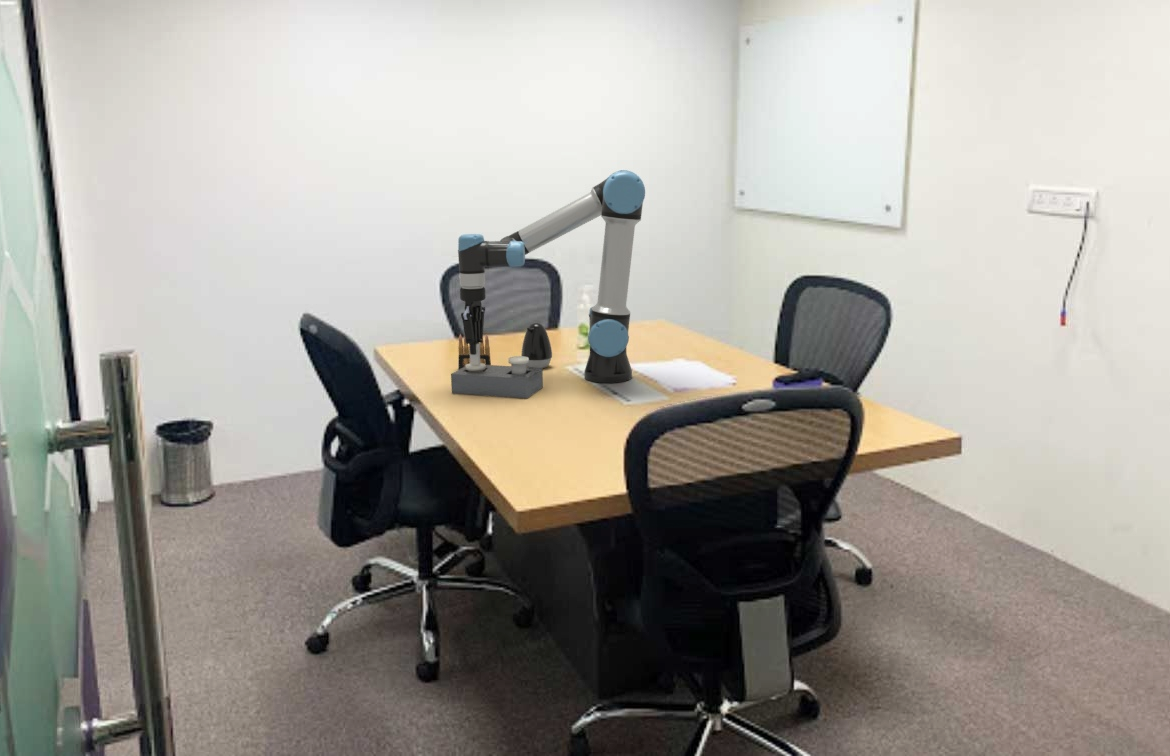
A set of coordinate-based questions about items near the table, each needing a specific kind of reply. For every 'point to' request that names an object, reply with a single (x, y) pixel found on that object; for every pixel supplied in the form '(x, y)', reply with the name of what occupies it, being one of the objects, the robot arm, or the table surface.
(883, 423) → the table surface
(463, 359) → the ammunition clip
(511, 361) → the knob near
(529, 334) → the pump dispenser
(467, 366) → the knob far
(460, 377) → the housing
